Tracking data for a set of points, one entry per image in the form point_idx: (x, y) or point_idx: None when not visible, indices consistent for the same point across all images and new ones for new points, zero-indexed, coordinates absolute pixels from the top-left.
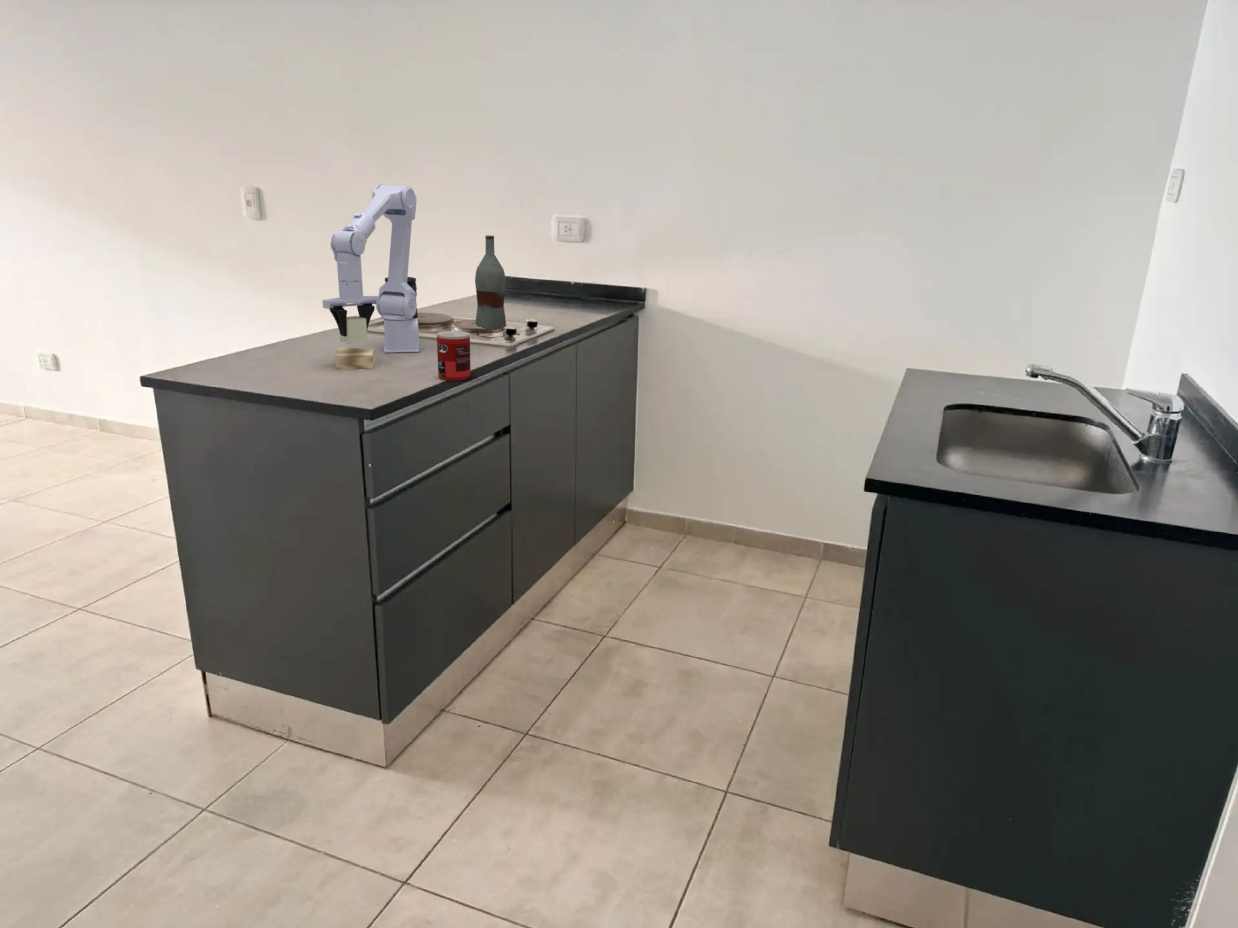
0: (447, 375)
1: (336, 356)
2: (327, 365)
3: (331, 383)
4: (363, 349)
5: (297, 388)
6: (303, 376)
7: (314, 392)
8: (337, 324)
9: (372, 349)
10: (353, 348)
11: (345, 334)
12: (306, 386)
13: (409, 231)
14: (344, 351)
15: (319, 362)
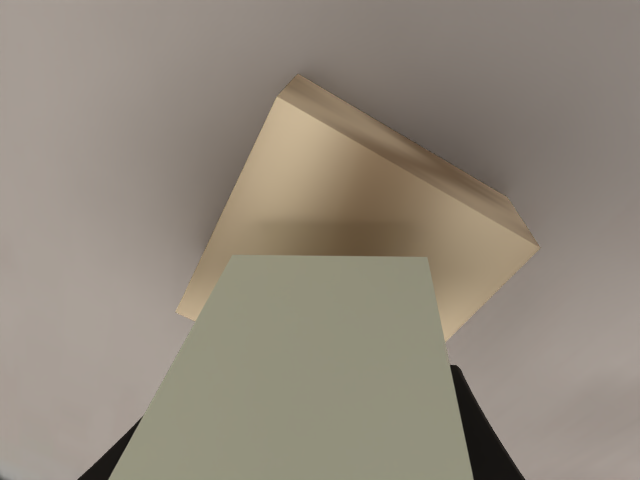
0: None
1: (186, 311)
2: (191, 134)
3: (134, 423)
4: (430, 257)
5: (12, 415)
6: (36, 290)
7: (65, 468)
8: (119, 448)
9: (488, 287)
10: (383, 183)
11: None
12: (43, 411)
13: None
14: (272, 245)
15: (161, 6)
